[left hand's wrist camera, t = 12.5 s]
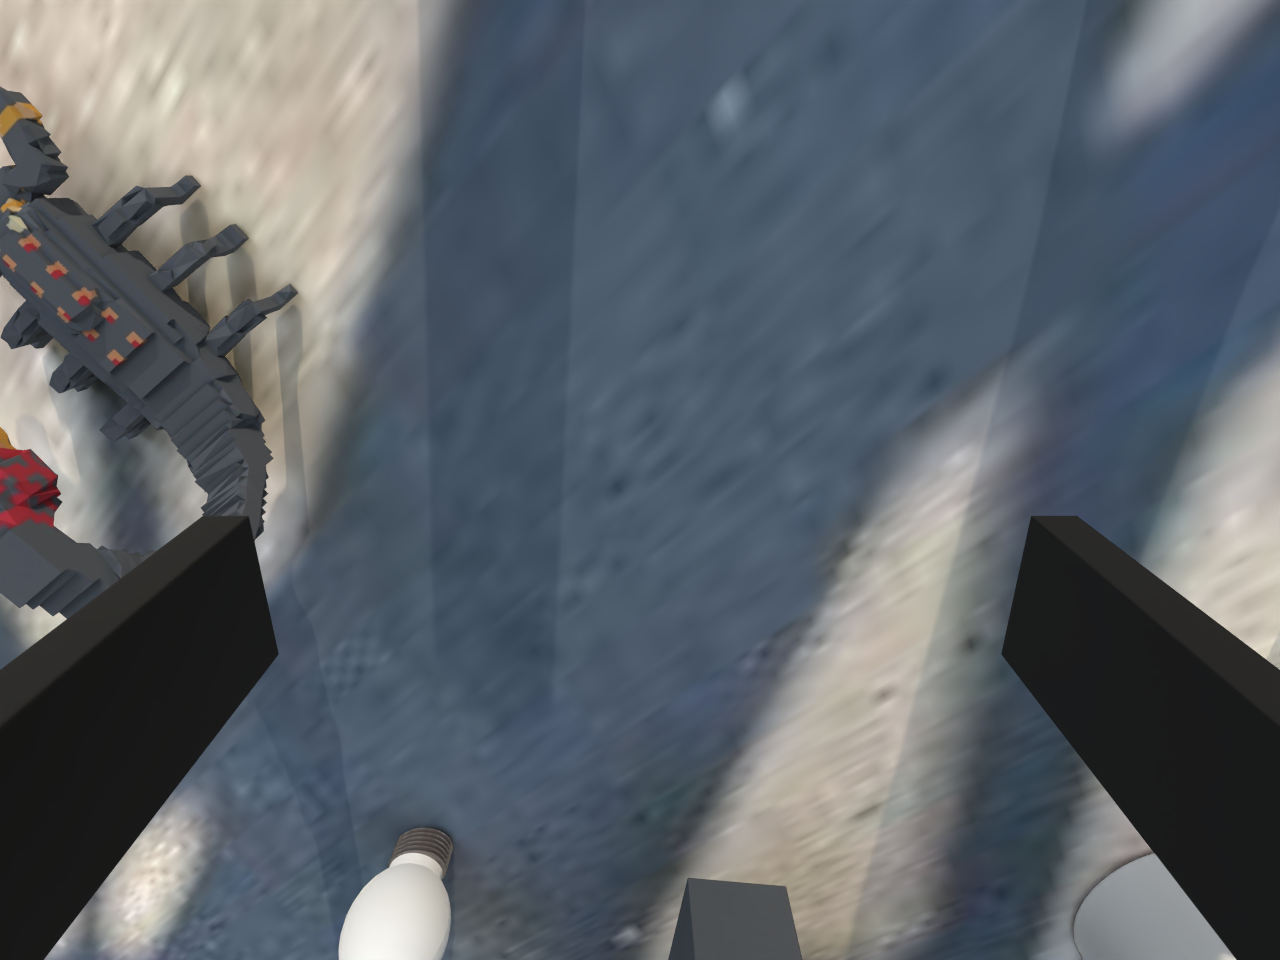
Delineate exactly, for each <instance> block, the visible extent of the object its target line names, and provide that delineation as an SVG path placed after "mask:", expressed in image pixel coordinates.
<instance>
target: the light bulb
mask: <svg viewBox="0 0 1280 960" xmlns="http://www.w3.org/2000/svg"><path fill="white" fill-rule="evenodd" d="M452 851H453V843H452V841H451V839H450V838H449V837H448V836H447V835H446V834H444V833H443V832H440V831H438V830H435V829H431V828H417V829H412V830H410V831H407V832H405V833H404V834H402V835H401V836H400V837H399V839H398V840H397V842H396V845H395V848H394V850H393V854H392V856H391V859H390V862H389V864H388V868H387V869H386V870H384V871H383V872H381V873H380V874H378V875H376V876H375V877H374V878H373V879H372V880H371V881H370V882H369V883H368V884H367V885H366V886H365V887H364V888H363V889H362V891H361V892H360V893H359V895H358V896H357V898H356V899H355V901H354V902H353V904H352V906H351V908H350V910H349V912H348V914H347V916H346V919H345V922H344V925H343V929H342V932H341V936H340V943H339V960H441V959H442V956H443V954H444V951H445V948H446V945H447V942H448V938H449V932H450V925H451V909H450V903H449V898H448V894H447V892H446V889H445V887H444V885H443V883H442V881H441V880H442V879H443V878H444V876H445V875H446V872H447V868H448V865H449V861H450V857H451V854H452Z"/></svg>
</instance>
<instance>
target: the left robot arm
mask: <svg viewBox="0 0 1280 960" xmlns="http://www.w3.org/2000/svg"><path fill="white" fill-rule="evenodd" d="M277 656H278V649H277V645H276V640H275V635H274V631H273V626H272V622H271V617H270V612H269V608H268V603H267V598H266V594H265V589H264V584H263V580H262V575H261V570H260V566H259V561H258V556H257V552H256V547H255V543H254V538H253V533H252V529H251V524H250V519H249V516H202V517H201V518H200V519H198V520H197V521H196V522H195V523H193V524H192V525H191V526H189V527H188V528H187V529H185V530H184V531H183V532H181V533H180V534H179V535H177V536H176V537H175V538H173V539H172V540H171V541H170V542H168V543H167V544H166V545H164V546H163V547H162V548H160V549H159V550H158V551H156V552H155V553H154V554H152V555H151V556H150V557H148V558H147V559H146V560H144V561H143V562H142V563H141V564H139V565H138V566H137V567H135V568H134V569H133V570H131V571H130V572H129V573H127V574H126V575H125V576H123V577H122V578H121V579H119V580H118V581H117V582H116V583H114V584H113V585H112V586H110V587H109V588H108V589H106V590H105V591H104V592H102V593H101V594H100V595H98V596H97V597H96V598H94V599H93V600H92V601H90V602H89V603H88V604H87V605H85V606H84V607H83V608H81V609H80V610H79V611H77V612H76V613H75V614H73V615H72V616H71V617H69V618H68V619H67V620H65V621H64V622H63V623H62V624H60V625H59V626H58V627H56V628H55V629H54V630H52V631H51V632H50V633H48V634H47V635H46V636H44V637H43V638H42V639H40V640H39V641H38V642H36V643H35V644H34V645H33V646H31V647H30V648H29V649H27V650H26V651H25V652H23V653H22V654H21V655H19V656H18V657H17V658H15V659H14V660H13V661H11V662H10V663H9V664H7V665H6V666H5V667H4V668H2V669H1V670H0V960H44V959H45V957H46V956H47V955H48V953H49V952H50V951H51V949H52V948H53V947H54V946H55V944H56V943H57V942H58V940H59V939H60V938H61V936H62V935H63V934H64V933H65V931H66V930H67V929H68V927H69V926H70V925H71V923H72V922H73V921H74V920H75V918H76V917H77V916H78V914H79V913H80V912H81V910H82V909H83V908H84V907H85V905H86V904H87V903H88V901H89V900H90V899H91V897H92V896H93V895H94V894H95V892H96V891H97V890H98V888H99V887H100V886H101V884H102V883H103V882H104V881H105V879H106V878H107V877H108V875H109V874H110V873H111V871H112V870H113V869H114V868H115V866H116V865H117V864H118V862H119V861H120V860H121V858H122V857H123V856H124V855H125V853H126V852H127V851H128V849H129V848H130V847H131V845H132V844H133V843H134V842H135V840H136V839H137V838H138V836H139V835H140V834H141V832H142V831H143V830H144V829H145V827H146V826H147V825H148V823H149V822H150V821H151V819H152V818H153V817H154V816H155V814H156V813H157V812H158V810H159V809H160V808H161V806H162V805H163V804H164V803H165V801H166V800H167V799H168V797H169V796H170V795H171V793H172V792H173V791H174V790H175V788H176V787H177V786H178V784H179V783H180V782H181V780H182V779H183V778H184V777H185V775H186V774H187V773H188V771H189V770H190V769H191V767H192V766H193V765H194V764H195V762H196V761H197V760H198V758H199V757H200V756H201V754H202V753H203V752H204V751H205V749H206V748H207V747H208V745H209V744H210V743H211V741H212V740H213V739H214V738H215V736H216V735H217V734H218V732H219V731H220V730H221V728H222V727H223V726H224V725H225V723H226V722H227V721H228V719H229V718H230V717H231V715H232V714H233V713H234V712H235V710H236V709H237V708H238V706H239V705H240V704H241V702H242V701H243V700H244V699H245V697H246V696H247V695H248V693H249V692H250V691H251V689H252V688H253V687H254V686H255V684H256V683H257V682H258V680H259V679H260V678H261V676H262V675H263V674H264V673H265V671H266V670H267V669H268V667H269V666H270V665H271V663H272V662H273V661H274V660H275V658H276V657H277ZM1002 656H1003V657H1004V658H1005V660H1006V661H1007V662H1008V663H1009V665H1010V666H1011V667H1012V669H1013V670H1014V671H1015V673H1016V674H1017V675H1018V676H1019V678H1020V679H1021V680H1022V682H1023V683H1024V684H1025V686H1026V687H1027V688H1028V689H1029V691H1030V692H1031V693H1032V695H1033V696H1034V697H1035V699H1036V700H1037V701H1038V702H1039V704H1040V705H1041V706H1042V708H1043V709H1044V710H1045V712H1046V713H1047V714H1048V715H1049V717H1050V718H1051V719H1052V721H1053V722H1054V723H1055V725H1056V726H1057V727H1058V728H1059V730H1060V731H1061V732H1062V734H1063V735H1064V736H1065V738H1066V739H1067V740H1068V741H1069V743H1070V744H1071V745H1072V747H1073V748H1074V749H1075V751H1076V752H1077V753H1078V754H1079V756H1080V757H1081V758H1082V760H1083V761H1084V762H1085V764H1086V765H1087V766H1088V767H1089V769H1090V770H1091V771H1092V773H1093V774H1094V775H1095V777H1096V778H1097V779H1098V780H1099V782H1100V783H1101V784H1102V786H1103V787H1104V788H1105V790H1106V791H1107V792H1108V793H1109V795H1110V796H1111V797H1112V799H1113V800H1114V801H1115V803H1116V804H1117V805H1118V806H1119V808H1120V809H1121V810H1122V812H1123V813H1124V814H1125V816H1126V817H1127V818H1128V819H1129V821H1130V822H1131V823H1132V825H1133V826H1134V827H1135V829H1136V830H1137V831H1138V832H1139V834H1140V835H1141V836H1142V838H1143V839H1144V840H1145V842H1146V843H1147V844H1148V845H1149V847H1150V848H1151V849H1152V851H1153V852H1154V853H1155V855H1156V856H1157V857H1158V858H1159V860H1160V861H1161V862H1162V864H1163V865H1164V866H1165V868H1166V869H1167V870H1168V871H1169V873H1170V874H1171V875H1172V877H1173V878H1174V879H1175V881H1176V882H1177V883H1178V884H1179V886H1180V887H1181V888H1182V890H1183V891H1184V892H1185V894H1186V895H1187V896H1188V897H1189V899H1190V900H1191V901H1192V903H1193V904H1194V905H1195V907H1196V908H1197V909H1198V910H1199V912H1200V913H1201V914H1202V916H1203V917H1204V918H1205V920H1206V921H1207V922H1208V923H1209V925H1210V926H1211V927H1212V929H1213V930H1214V931H1215V933H1216V934H1217V935H1218V936H1219V938H1220V939H1221V940H1222V942H1223V943H1224V944H1225V946H1226V947H1227V948H1228V949H1229V951H1230V952H1231V953H1232V955H1233V956H1234V957H1235V959H1236V960H1280V670H1279V669H1278V668H1276V667H1275V666H1274V665H1272V664H1271V663H1270V662H1269V661H1267V660H1266V659H1265V658H1263V657H1262V656H1261V655H1259V654H1258V653H1257V652H1255V651H1254V650H1253V649H1251V648H1250V647H1249V646H1247V645H1246V644H1245V643H1244V642H1242V641H1241V640H1240V639H1238V638H1237V637H1236V636H1234V635H1233V634H1232V633H1230V632H1229V631H1228V630H1226V629H1225V628H1224V627H1222V626H1221V625H1220V624H1218V623H1217V622H1216V621H1215V620H1213V619H1212V618H1211V617H1209V616H1208V615H1207V614H1205V613H1204V612H1203V611H1201V610H1200V609H1199V608H1197V607H1196V606H1195V605H1193V604H1192V603H1191V602H1190V601H1188V600H1187V599H1186V598H1184V597H1183V596H1182V595H1180V594H1179V593H1178V592H1176V591H1175V590H1174V589H1172V588H1171V587H1170V586H1168V585H1167V584H1166V583H1164V582H1163V581H1162V580H1161V579H1159V578H1158V577H1157V576H1155V575H1154V574H1153V573H1151V572H1150V571H1149V570H1147V569H1146V568H1145V567H1143V566H1142V565H1141V564H1139V563H1138V562H1137V561H1136V560H1134V559H1133V558H1132V557H1130V556H1129V555H1128V554H1126V553H1125V552H1124V551H1122V550H1121V549H1120V548H1118V547H1117V546H1116V545H1114V544H1113V543H1112V542H1110V541H1109V540H1108V539H1107V538H1105V537H1104V536H1103V535H1101V534H1100V533H1099V532H1097V531H1096V530H1095V529H1093V528H1092V527H1091V526H1089V525H1088V524H1087V523H1085V522H1084V521H1083V520H1082V519H1080V518H1079V517H1078V516H1031V519H1030V524H1029V529H1028V533H1027V538H1026V543H1025V547H1024V552H1023V556H1022V561H1021V566H1020V570H1019V575H1018V580H1017V584H1016V589H1015V594H1014V598H1013V603H1012V608H1011V612H1010V617H1009V622H1008V626H1007V631H1006V635H1005V640H1004V645H1003V649H1002Z"/></svg>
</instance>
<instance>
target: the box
mask: <svg viewBox="0 0 1280 960" xmlns="http://www.w3.org/2000/svg"><path fill="white" fill-rule="evenodd" d="M668 960H802V956H801V952H800V947H799V943H798V939H797V934H796V930H795V925H794V921H793V916H792V912H791V907H790V903H789V898H788V894H787V889H786V887H785V886H774V885H762V884H751V883H740V882H728V881H717V880H705V879H694V878H688V880H687V884H686V888H685V892H684V896H683V900H682V905H681V909H680V913H679V917H678V921H677V926H676V930H675V934H674V938H673V942H672V947H671V951H670V955H669V959H668Z"/></svg>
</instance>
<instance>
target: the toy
mask: <svg viewBox="0 0 1280 960" xmlns="http://www.w3.org/2000/svg"><path fill="white" fill-rule="evenodd" d="M41 117H42V115H41V113H40V112H39V111H38V110H37V109H36V108H35V107H34V106H33V105H32V104H31V103H30V102H29V101H28V100H27V99H26V98H25V97H24V96H23V95H22V93H19V92H12V91H7V90H5V89H3V88H2V87H0V136H1V138H2V140H3V142H4V144H5V146H6V148H7V150H8V152H9V154H10V156H11V158H12V159H13V161H14V162H15V164H16V165H12V166H4V167H2V168H1V169H0V277H1V276H2V275H3V276H4V278H6V279H7V280H8V281H9V282H10V285H11V286H12V287H13V288H14V289H15V290H16V291H17V292H19V293H20V294H21V295H22V296H23V297H24V298H25V299H26V301H25V302H24V303H23V304H22V305H21V306H20V307H19V308H18V310H17V311H16V312H15V314H14V315H13V316H12V318H11V319H10V320H9V322H8V323H7V325H6V326H5V327H4V329H3V332H2V335H1V338H2V339H3V340H4V341H6V342H7V343H8V344H9V346H10V348H11V349H14V348H18V347H22V346H25V345H29V344H31V345H32V346H33V347H34V348H44V347H45V345H46V344H47V343H48V342H49V341H50V340H51V339H52V338H55V339H56V340H57V341H58V342H59V343H60V344H61V345H62V346H63V347H64V348H66V349H67V350H68V351H69V352H70V353H69V354H68V355H66V356H65V358H64V362H63V363H62V364H61V365H60V366H59V367H58V368H57V369H56V370H55V371H54V372H53V374H52V377H51V380H50V386H51V387H53V388H54V389H55V390H56V391H57V392H58V393H63V392H65V391H67V390H70V389H72V388H75V389H76V390H77V392H79V391H82V390H85V389H87V388H88V387H89V386H90V385H92V384H93V383H94V382H95V381H96V380H97V379H98V378H99V379H100V380H101V381H102V382H103V383H105V384H107V385H108V386H110V387H111V388H112V389H113V390H114V391H115V392H116V393H117V394H118V395H119V396H120V397H121V398H123V399H124V400H125V401H126V402H127V404H126V405H125V406H124V407H123V408H122V409H121V410H120V411H119V412H117V413H116V414H115V415H114V416H113V417H112V418H111V419H110V420H109V421H108V422H107V423H106V424H105V425H104V426H103V427H102V428H101V429H100V431H101V432H102V433H103V434H104V435H106V436H107V437H108V438H109V439H110V440H111V441H112V442H115V441H116V440H118V439H120V438H121V437H123V436H126V437H127V438H128V439H131V438H133V437H135V436H137V435H138V434H140V433H141V432H142V431H143V430H144V429H145V428H146V427H147V426H149V425H150V424H149V423H148V422H147V421H146V420H145V419H144V417H145V418H146V419H147V420H148V421H149V422H150V423H151V424H152V425H153V427H154V428H155V429H156V430H159V429H165V430H166V431H167V432H168V434H169V435H170V437H171V438H172V439H171V441H172V442H173V443H174V444H175V445H176V446H177V447H178V450H177V451H178V452H179V453H180V454H181V455H182V456H183V457H184V458H185V459H186V460H187V463H188V467H189V469H190V470H191V471H192V473H193V474H194V477H195V478H196V479H197V480H196V481H195V482H196V483H197V484H198V485H199V486H200V487H201V488H203V489H204V490H205V492H207V493H208V499H207V503H206V504H205V505H203V506H202V507H201V509H202V510H203V511H204V513H203V514H202V515H203V516H249V519H250V524H251V529H252V533H253V538H254V541H255V539H256V538H257V537H258V536H259V535H260V534H261V533H262V532H263V531H264V527H263V523H264V522H265V521H264V520H263V519H262V515H263V514H264V513H265V512H266V511H264V510H263V509H262V508H261V507H263V506H264V505H265V504H266V503H267V502H266V501H265V500H264V499H263V498H264V497H265V496H266V495H267V494H268V493H267V492H266V491H265V490H264V489H265V488H266V479H267V478H268V475H267V472H266V466H265V465H266V464H267V463H269V462H270V461H271V460H272V459H273V457H272V456H271V455H270V453H272V452H271V451H270V450H269V449H268V448H267V447H266V446H265V445H264V443H265V442H266V441H265V440H264V439H263V438H262V437H264V434H263V432H262V431H261V424H262V423H263V422H264V421H265V419H264V418H263V416H262V414H261V412H260V410H259V409H258V408H257V406H256V405H255V404H254V402H253V401H252V399H251V398H250V396H249V395H248V393H247V392H246V390H245V389H244V388H243V386H242V384H241V381H240V380H241V379H240V377H239V375H238V373H237V372H236V370H235V369H234V368H233V366H232V365H231V363H230V362H229V361H228V359H227V358H226V357H224V356H225V355H226V354H227V353H228V352H229V351H230V350H231V349H232V348H233V347H234V346H235V345H236V344H237V343H238V342H239V341H240V340H241V339H242V338H243V337H244V336H245V335H246V334H247V333H248V332H249V331H251V330H252V329H253V328H255V327H256V326H257V325H258V324H260V323H261V322H262V321H264V320H265V319H266V318H267V317H266V316H265V315H267V314H269V313H271V312H274V311H277V310H279V309H281V308H282V307H283V306H284V305H285V304H286V303H287V302H289V301H290V300H291V299H292V298H293V297H294V296H295V295H296V294H298V292H297V291H296V290H295V289H294V288H293V287H292V286H291V284H289V285H288V286H286V287H285V288H283V289H281V290H280V291H278V292H277V293H275V294H274V295H273V296H271V297H268V298H265V299H262V300H259V301H256V302H252V301H251V300H250V299H249V300H246V301H244V302H242V303H241V304H240V305H239V306H238V307H237V308H236V309H235V310H234V311H233V312H232V313H231V314H230V315H229V316H225V317H224V318H223V319H222V320H221V321H220V322H219V323H218V324H217V325H216V326H215V327H214V328H213V329H212V330H211V331H210V332H209V333H208V331H209V327H210V326H209V325H208V324H207V323H206V322H205V321H204V319H203V318H202V317H201V316H200V315H199V314H198V313H197V312H196V311H195V309H194V308H193V307H192V306H191V305H190V304H189V303H187V302H185V301H182V300H181V298H180V297H179V296H178V294H177V293H176V292H175V290H174V289H173V288H172V287H174V286H176V285H178V284H179V283H181V282H182V281H183V280H184V279H185V278H187V277H188V276H189V275H190V274H191V273H193V272H194V271H195V270H196V269H197V268H199V267H200V266H201V265H202V264H203V263H205V262H206V261H207V260H208V259H209V258H211V257H219V256H226V255H228V254H231V253H233V252H235V251H236V250H237V249H238V248H239V247H240V246H241V245H242V244H243V243H244V242H245V241H246V240H248V239H249V238H248V237H247V236H246V235H245V234H244V233H243V231H242V230H241V229H240V228H239V227H238V226H237V225H236V224H233V225H229V226H228V227H227V228H225V229H224V230H223V231H222V232H220V233H219V234H218V235H216V236H215V237H212V238H210V239H208V240H201V241H195V242H192V243H189V244H186V245H184V246H183V247H182V248H181V249H180V250H179V251H178V252H177V253H175V254H174V255H173V256H172V257H171V258H170V259H169V260H168V261H167V262H166V263H165V264H164V265H162V266H161V267H160V268H159V269H158V270H156V269H155V268H154V267H153V266H152V264H151V263H150V262H149V261H148V260H147V259H146V258H145V257H144V256H143V255H142V254H141V253H140V252H139V251H130V252H128V251H127V250H126V249H125V248H124V247H123V245H122V243H123V242H124V241H125V240H126V238H127V237H128V236H129V235H130V234H131V233H132V232H133V231H134V230H135V229H136V228H137V227H138V226H140V225H141V224H143V223H144V222H145V221H146V220H148V219H149V218H150V217H151V216H152V215H154V214H155V213H156V212H157V211H158V210H160V209H161V208H162V207H164V206H167V205H177V204H183V203H184V202H185V201H186V200H187V199H188V198H189V197H190V196H191V195H192V194H193V193H194V192H195V191H196V190H197V189H198V188H199V187H200V186H201V185H200V184H199V183H198V182H197V181H196V180H195V178H194V177H193V176H185V177H183V178H182V179H181V180H180V181H179V182H177V183H176V184H175V185H173V186H171V187H158V188H143V187H139V186H136V187H134V188H133V189H132V190H131V191H130V192H128V193H127V194H126V195H125V196H124V197H123V198H121V199H120V200H119V201H118V202H117V203H116V204H115V205H114V206H113V207H111V208H110V209H109V210H108V211H107V212H106V213H105V214H104V215H103V216H102V217H100V218H99V219H98V220H97V219H96V218H95V217H94V216H93V215H88V214H87V213H86V212H85V211H84V210H83V209H82V208H81V207H80V206H79V204H78V203H76V202H74V201H73V200H71V199H69V198H46V197H45V196H44V194H45V195H51V194H52V193H53V192H54V191H55V190H56V189H57V188H58V187H59V186H60V185H61V184H62V183H63V182H64V181H65V180H66V179H67V178H68V177H69V176H68V174H67V173H66V170H67V168H68V167H67V166H65V165H64V164H63V163H61V161H60V159H59V158H58V157H57V156H58V155H59V154H60V153H61V151H60V150H59V149H58V147H57V146H56V145H55V144H54V143H53V141H52V140H51V139H50V138H49V136H50V135H51V134H50V133H49V132H47V131H46V130H45V128H44V126H43V124H42V122H41V121H40V120H39V119H40V118H41ZM57 479H58V475H57V474H55V473H54V472H53V471H52V470H51V469H50V468H49V467H48V466H47V465H46V464H45V463H44V462H43V461H42V460H41V459H40V458H39V457H38V456H37V455H36V454H35V453H34V452H33V451H32V450H31V449H29V450H16V449H15V448H14V447H13V446H12V445H11V443H10V441H9V438H8V435H7V433H6V432H5V431H4V430H3V429H2V428H1V427H0V593H1V594H3V595H4V596H5V597H6V598H8V599H9V600H10V601H11V602H13V603H14V604H15V605H16V606H17V607H19V608H21V607H22V606H24V605H25V604H27V605H28V606H29V607H31V608H32V609H35V608H36V607H37V606H39V605H40V606H41V607H42V608H43V609H45V610H46V611H47V612H48V613H49V614H51V615H52V616H54V615H56V614H57V613H58V612H59V613H61V614H62V615H63V616H64V617H65V618H67V619H68V618H69V617H71V616H72V615H73V614H75V613H76V612H77V611H79V610H80V609H81V608H83V607H84V606H85V605H87V604H88V603H89V602H90V601H92V600H93V599H94V598H96V597H97V596H98V595H100V594H101V593H102V592H104V591H105V590H106V589H108V588H109V587H110V586H112V585H113V584H114V583H116V582H117V581H118V580H119V579H121V578H122V577H123V576H125V575H126V574H127V573H129V572H130V571H131V570H133V569H134V568H135V567H137V566H138V565H139V564H141V563H142V562H143V561H144V560H146V559H147V558H148V557H150V556H151V555H152V554H154V553H155V551H153V550H151V551H150V552H148V553H147V554H146V555H144V556H142V555H140V554H139V553H137V552H135V553H133V554H130V553H128V552H127V551H126V550H124V551H116V550H111V549H107V548H105V547H103V546H101V547H100V548H98V549H96V548H94V547H93V546H92V545H91V544H90V543H76V542H75V541H74V540H72V539H71V538H70V537H68V536H67V535H65V534H64V533H63V532H61V531H60V530H59V529H57V528H56V527H55V526H53V525H54V513H55V511H56V510H57V509H58V507H59V506H60V505H61V503H62V501H61V500H59V499H58V498H57V497H58V496H59V495H60V494H61V493H60V491H59V490H58V488H57V487H56V486H57Z"/></svg>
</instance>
